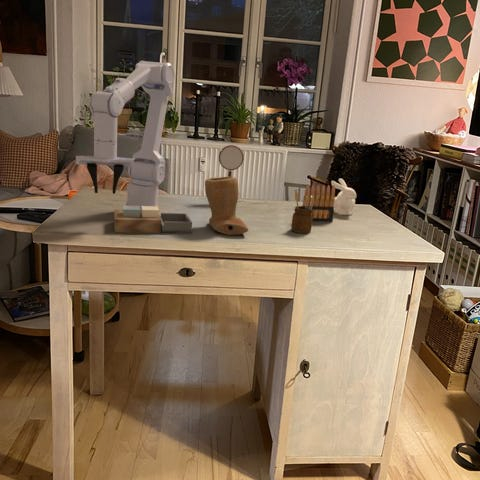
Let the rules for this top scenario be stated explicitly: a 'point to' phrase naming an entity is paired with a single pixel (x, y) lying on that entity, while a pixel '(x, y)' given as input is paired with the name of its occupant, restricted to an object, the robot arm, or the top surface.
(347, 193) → the rabbit
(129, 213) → the tile slate
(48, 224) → the top surface
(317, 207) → the ammunition clip
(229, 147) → the magnifying glass
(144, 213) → the tile cream
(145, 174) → the robot arm
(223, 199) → the tan suede boot
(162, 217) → the bin
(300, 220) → the utensil holder
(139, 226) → the walnut plate
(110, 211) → the top surface
